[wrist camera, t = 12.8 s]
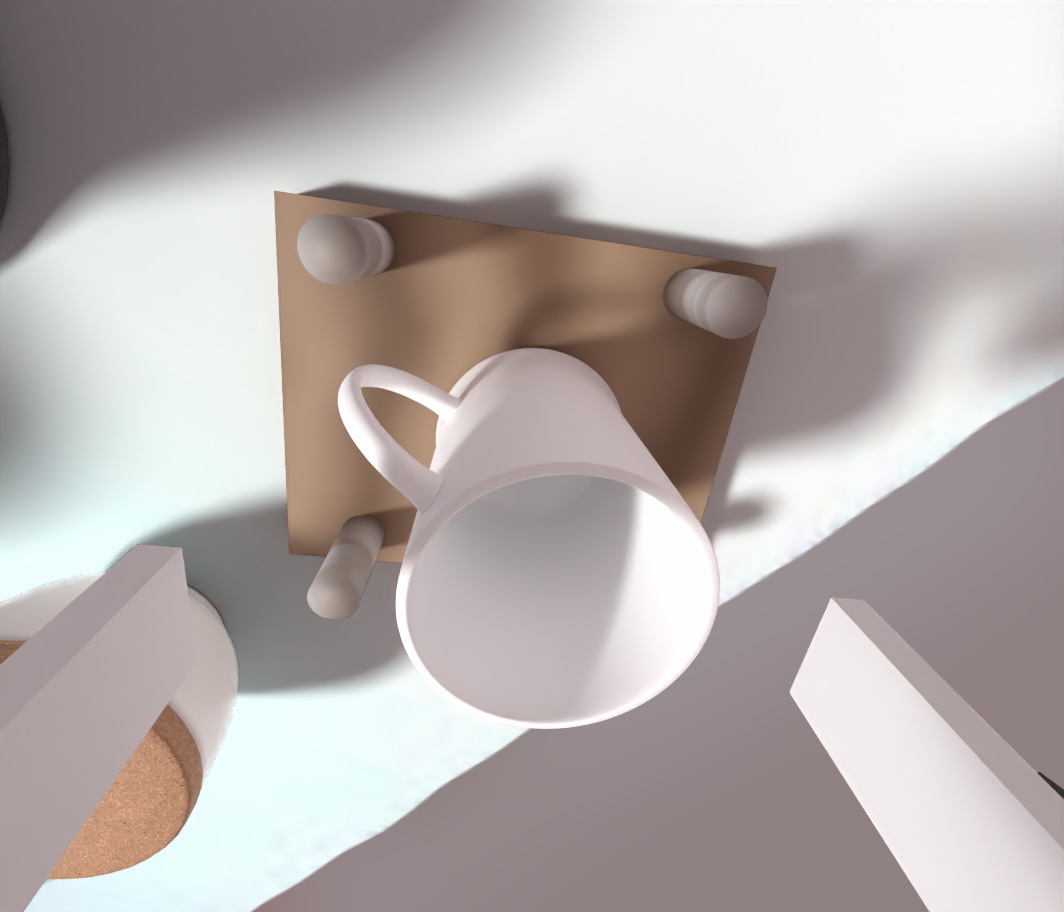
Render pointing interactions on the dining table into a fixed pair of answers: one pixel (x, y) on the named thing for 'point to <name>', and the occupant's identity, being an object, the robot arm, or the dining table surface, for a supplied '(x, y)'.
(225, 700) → the lidded bowl
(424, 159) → the dining table surface
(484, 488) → the mug
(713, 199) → the dining table surface
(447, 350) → the peg board
